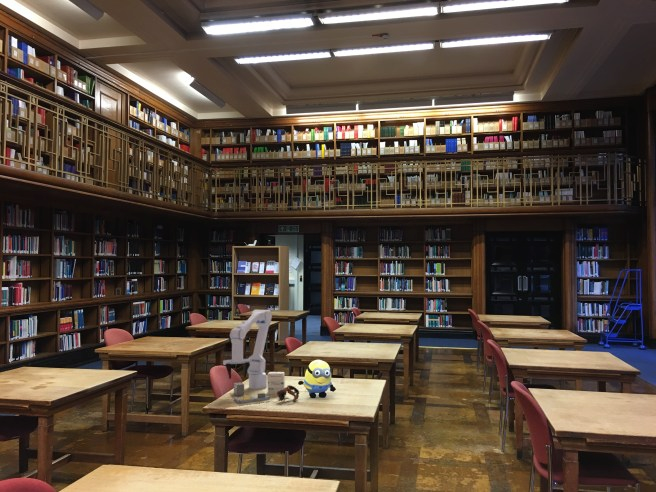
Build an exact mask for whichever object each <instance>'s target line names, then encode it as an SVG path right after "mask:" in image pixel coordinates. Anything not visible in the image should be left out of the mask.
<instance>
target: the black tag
mask: <svg viewBox="0 0 656 492" xmlns="http://www.w3.org/2000/svg"><path fill="white" fill-rule="evenodd" d="M265 394H266V393H265V392H261V393H260V392H259V393H257V398H264V397H265Z"/></svg>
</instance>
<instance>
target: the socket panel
mask: <svg viewBox="0 0 656 492" xmlns="http://www.w3.org/2000/svg"><path fill="white" fill-rule="evenodd" d="M270 398H271V397H270V396H269V395H268V394H266V393H265V397H264V398H258V397H254V396H252V395H251V399H249V400H243V399H239V398H238V397H233V400H234V401H235V402H237V404H240V405H238V407H241V406H243V404H245V406H248V405H249V406H250V403H253V402H254V403H253V405H254V404H257V402H258V401H259V402H260V401H263V402H260V404H263V403H265V401H266V400H269V401H267V403H269V402H270V400H271V399H270ZM247 403H248V404H247Z"/></svg>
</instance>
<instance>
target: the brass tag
mask: <svg viewBox="0 0 656 492" xmlns="http://www.w3.org/2000/svg"><path fill="white" fill-rule="evenodd" d="M251 396H252V395H251V394H248V395H245V396H242V400H249V399H251Z"/></svg>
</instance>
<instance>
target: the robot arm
mask: <svg viewBox="0 0 656 492" xmlns="http://www.w3.org/2000/svg"><path fill="white" fill-rule="evenodd" d="M272 318H273V314H272V312H271V310H270V309H254V310H253V311H252V312H251V316H249V318H248V319H246V320H242V322H241V323H240V324H238V325H237V326H236V327H235V328H232V329H230V332H229V338H230V342H231V359H226V360H222V363H223V366H224V367H225V368H226V371H227V374H228V379H229V380H230V379H232V365H239V364H240V365H242V364H243V365H242V366H243V378H244V379H245V378H247V374H248V389H250V390H259V389H264V388H265V389H266V388H268V380H267V374H266V372H265V370H266V362H267V361H266V358H264V356H263V354H264V349H265V345H266V341H267V337H268V336H267V335H268V331H269V327H270V326H271V322H272ZM254 324H255V325H256V326H258V331H257V334H256V338H255V339H256V340H255V343H254V348H253V353H252V355H250V356H249V357H248V358H244V340H245V338H246V335H247V333H248V332H249V331H250V330H251V329H252V326H253V325H254Z"/></svg>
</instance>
